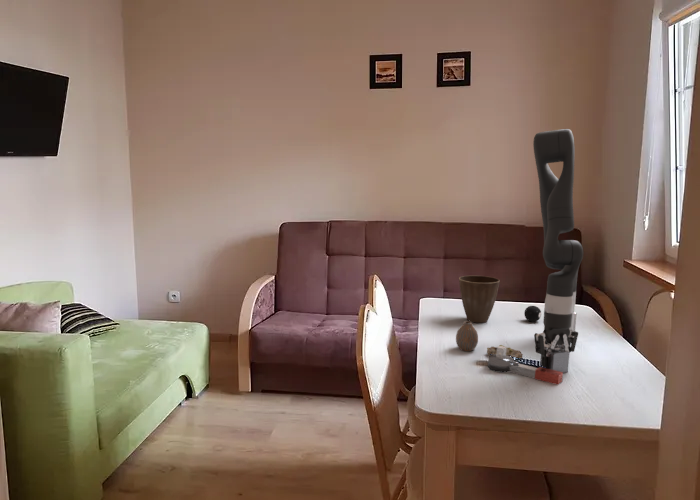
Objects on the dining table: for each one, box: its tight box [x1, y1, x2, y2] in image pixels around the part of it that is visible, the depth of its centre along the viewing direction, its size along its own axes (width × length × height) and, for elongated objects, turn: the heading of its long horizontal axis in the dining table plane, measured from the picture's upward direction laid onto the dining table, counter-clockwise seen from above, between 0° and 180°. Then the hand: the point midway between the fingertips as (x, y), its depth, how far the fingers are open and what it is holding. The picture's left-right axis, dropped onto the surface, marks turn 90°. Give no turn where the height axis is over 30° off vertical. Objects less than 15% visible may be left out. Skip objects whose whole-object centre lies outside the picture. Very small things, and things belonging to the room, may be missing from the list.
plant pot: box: [458, 275, 500, 324], centre depth 216 cm, size 15×15×16 cm
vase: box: [455, 321, 479, 352], centre depth 182 cm, size 7×7×9 cm
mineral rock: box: [486, 344, 524, 359], centre depth 175 cm, size 11×4×8 cm
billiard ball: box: [524, 305, 542, 323], centre depth 217 cm, size 6×6×6 cm
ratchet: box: [487, 345, 564, 386], centre depth 161 cm, size 7×21×6 cm, turn 51°
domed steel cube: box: [539, 345, 570, 374], centre depth 165 cm, size 5×5×7 cm
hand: (553, 367), depth 165 cm, fingers closed on domed steel cube, 5 cm apart
